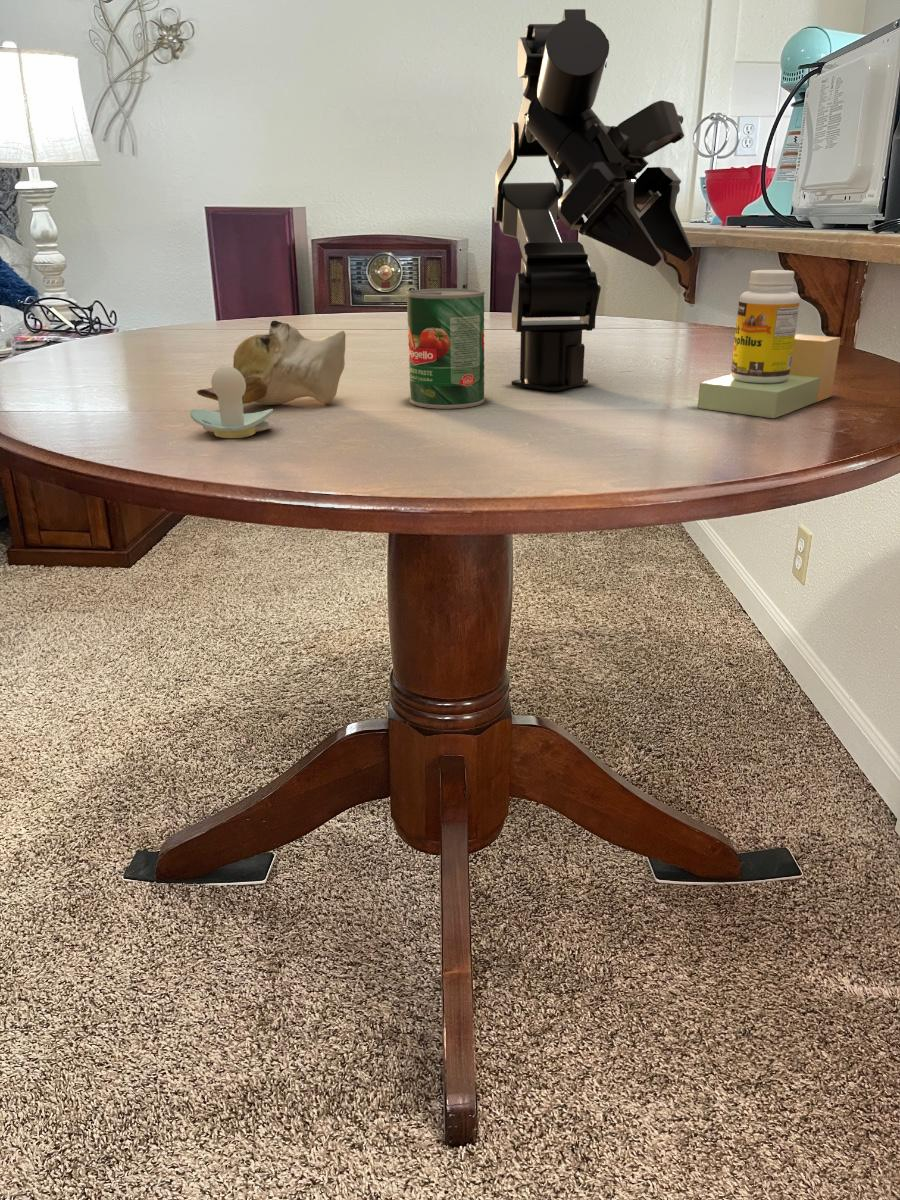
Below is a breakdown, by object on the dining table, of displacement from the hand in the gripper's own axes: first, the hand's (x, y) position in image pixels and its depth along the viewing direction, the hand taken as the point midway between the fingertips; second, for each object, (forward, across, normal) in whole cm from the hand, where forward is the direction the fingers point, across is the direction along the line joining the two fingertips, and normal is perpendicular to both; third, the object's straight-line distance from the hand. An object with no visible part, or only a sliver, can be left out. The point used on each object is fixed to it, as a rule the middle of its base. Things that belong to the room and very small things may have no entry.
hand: (674, 260), depth 88 cm
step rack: (+17, +4, +3) cm, 17 cm away
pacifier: (-10, -34, +30) cm, 46 cm away
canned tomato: (-4, -12, +23) cm, 27 cm away
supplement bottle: (+15, +1, +1) cm, 15 cm away
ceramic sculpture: (-14, -22, +34) cm, 43 cm away
